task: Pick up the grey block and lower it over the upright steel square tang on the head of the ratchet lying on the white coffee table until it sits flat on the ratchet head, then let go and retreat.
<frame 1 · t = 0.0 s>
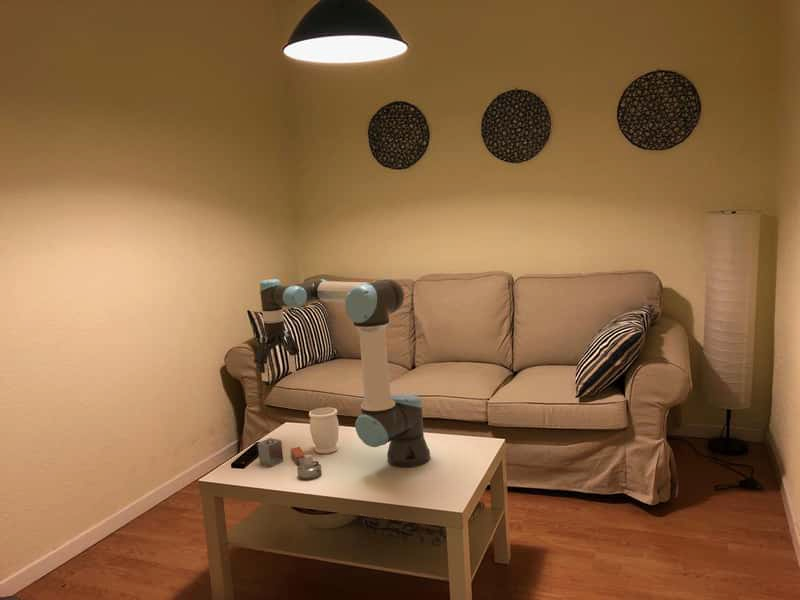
hand: (279, 376, 260), 28 cm above the table, fingers open, 13 cm apart
grey block: (271, 462, 249), on the table
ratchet: (310, 475, 235), on the table
jar: (326, 450, 258), on the table
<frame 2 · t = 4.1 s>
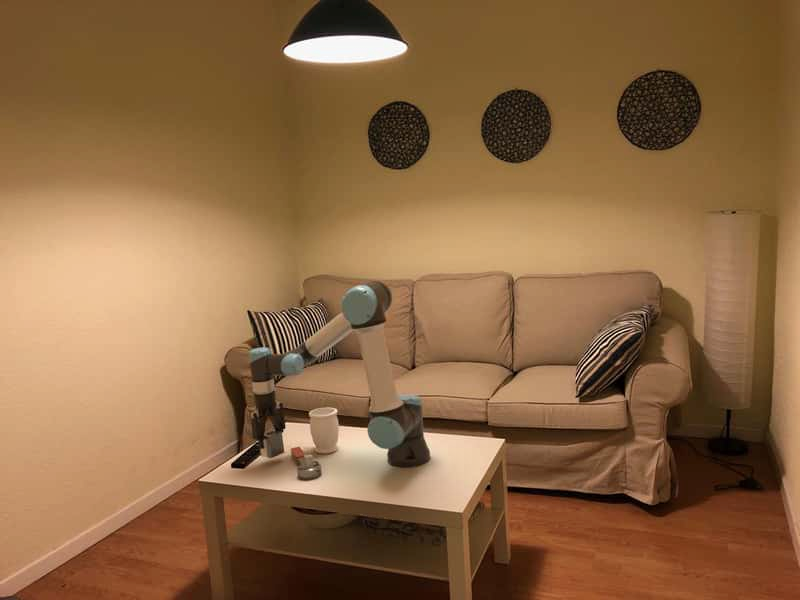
hand: (272, 453, 248), 4 cm above the table, fingers closed on grey block, 6 cm apart
grey block: (272, 454, 248), point 3 cm above the table, touching gripper
everything else where it was.
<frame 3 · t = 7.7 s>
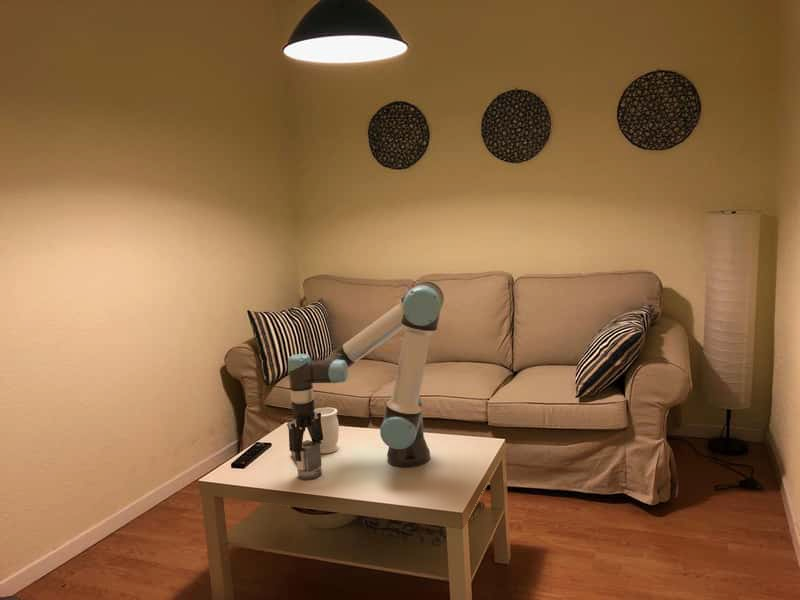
hand: (308, 465, 234), 4 cm above the table, fingers closed on grey block, 6 cm apart
grey block: (309, 466, 234), point 3 cm above the table, touching gripper, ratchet
everything else where it was.
when the fingers open (4 cm above the table, at t = 7.8 s): grey block stays where it is, resting on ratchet.
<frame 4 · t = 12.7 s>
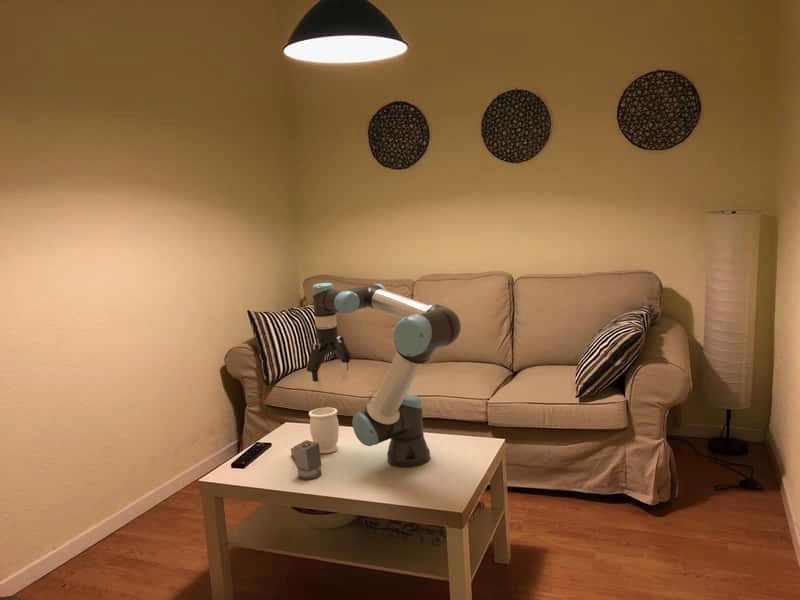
hand: (331, 384, 247), 27 cm above the table, fingers open, 13 cm apart
grey block: (309, 466, 234), point 3 cm above the table, touching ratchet
everything else where it was.
at the end: grey block 0.1 cm from the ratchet (horizontally); grey block point 3.2 cm above the table; the gripper is holding nothing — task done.
